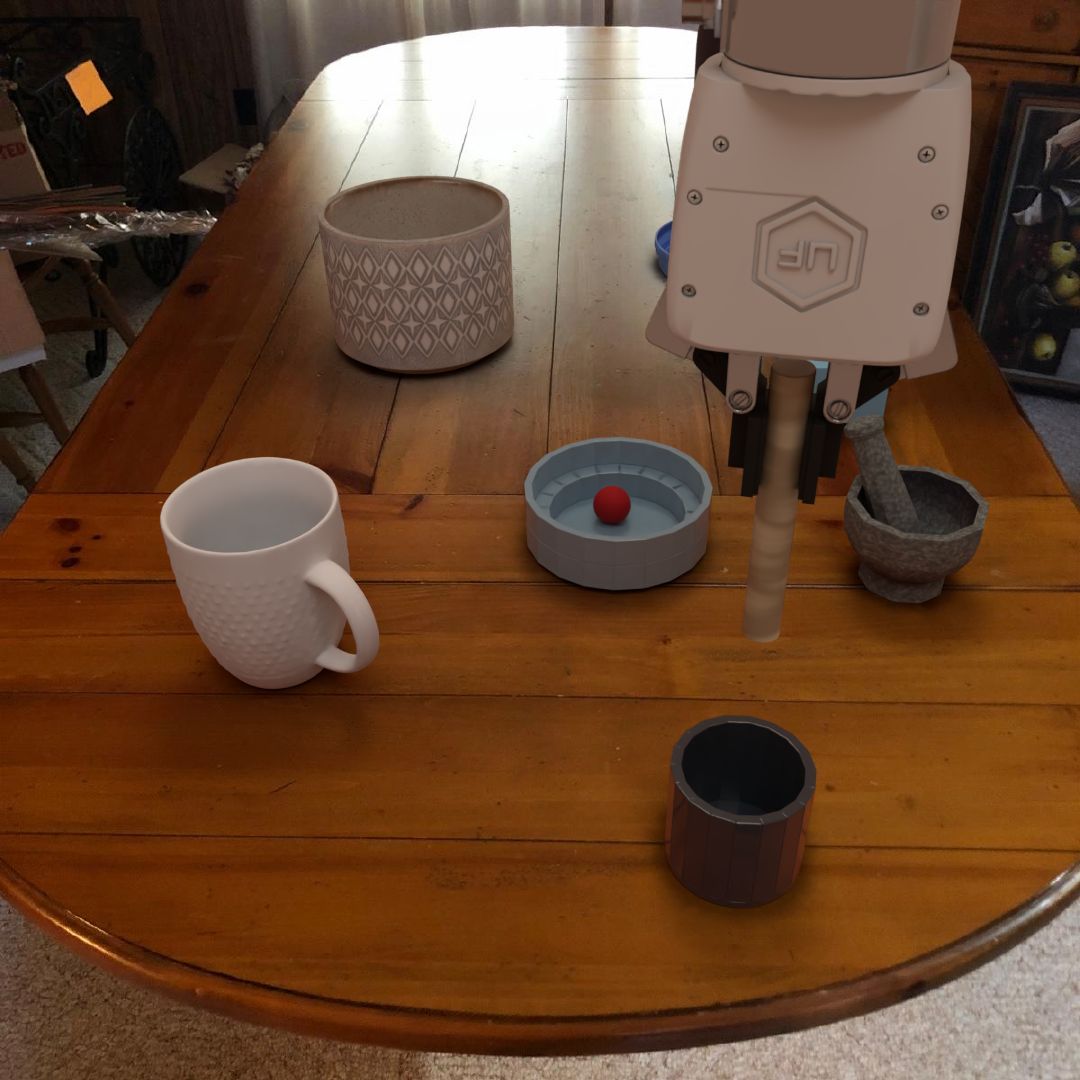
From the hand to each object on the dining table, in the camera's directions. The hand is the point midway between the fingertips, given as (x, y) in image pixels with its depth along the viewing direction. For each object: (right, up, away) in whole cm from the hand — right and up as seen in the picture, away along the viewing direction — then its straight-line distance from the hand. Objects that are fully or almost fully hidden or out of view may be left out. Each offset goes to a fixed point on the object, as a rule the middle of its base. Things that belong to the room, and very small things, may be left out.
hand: (779, 480), depth 47 cm
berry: (-5, 0, +39) cm, 40 cm away
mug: (-27, -11, +28) cm, 41 cm away
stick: (0, -7, +5) cm, 9 cm away
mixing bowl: (-4, -2, +39) cm, 39 cm away
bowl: (+12, +30, +82) cm, 88 cm away
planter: (-22, +18, +68) cm, 74 cm away
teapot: (+16, +9, +54) cm, 57 cm away
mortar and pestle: (+16, -5, +35) cm, 39 cm away
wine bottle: (+14, +45, +103) cm, 114 cm away
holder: (+1, -20, +15) cm, 25 cm away
